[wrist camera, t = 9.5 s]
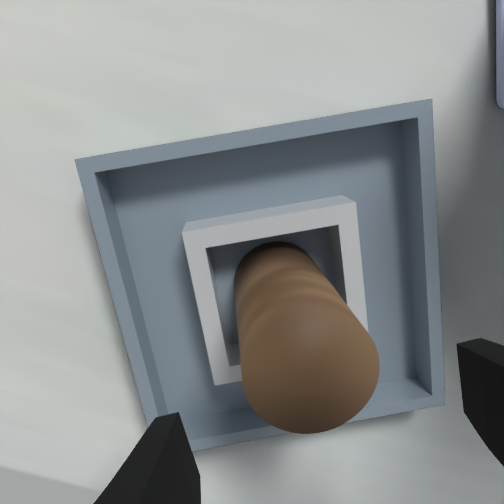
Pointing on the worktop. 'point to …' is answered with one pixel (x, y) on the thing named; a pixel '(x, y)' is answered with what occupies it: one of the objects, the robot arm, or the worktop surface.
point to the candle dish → (262, 231)
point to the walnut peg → (299, 343)
